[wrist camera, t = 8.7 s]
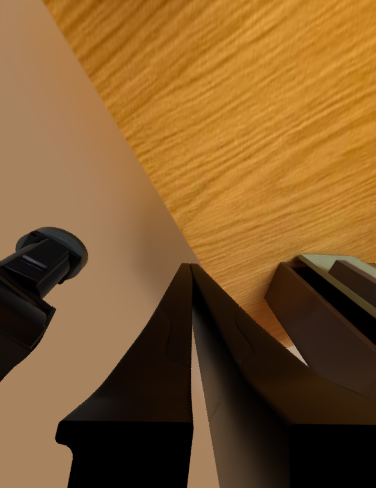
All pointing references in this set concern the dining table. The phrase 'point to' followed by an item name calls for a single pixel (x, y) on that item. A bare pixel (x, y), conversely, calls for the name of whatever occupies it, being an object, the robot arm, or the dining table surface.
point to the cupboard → (326, 327)
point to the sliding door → (347, 277)
